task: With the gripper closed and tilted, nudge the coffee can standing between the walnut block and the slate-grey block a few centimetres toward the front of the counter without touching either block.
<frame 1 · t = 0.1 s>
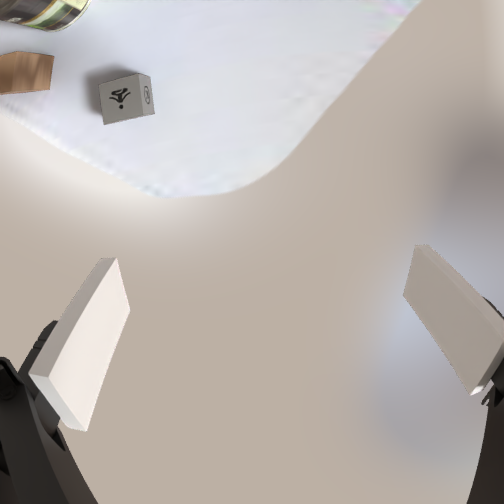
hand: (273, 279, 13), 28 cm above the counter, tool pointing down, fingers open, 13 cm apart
walnut block: (38, 74, 29), on the counter
coffee can: (64, 1, 24), on the counter
dice cube: (134, 99, 33), on the counter
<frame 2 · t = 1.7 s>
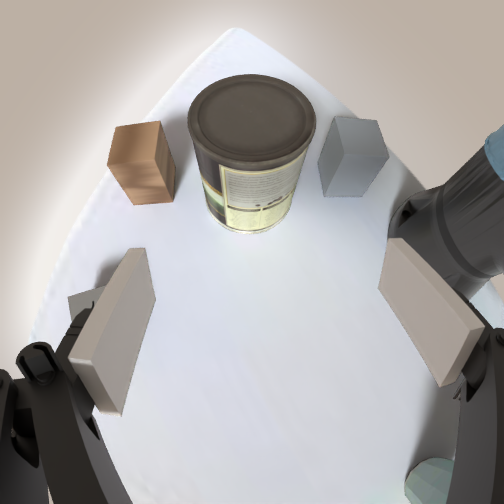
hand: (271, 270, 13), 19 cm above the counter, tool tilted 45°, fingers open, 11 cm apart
walnut block: (154, 185, 36), on the counter
disposable coffee cup: (423, 480, 25), on the counter
slate-grey block: (339, 179, 37), on the counter
coffee can: (248, 195, 36), on the counter
dice cube: (112, 321, 31), on the counter
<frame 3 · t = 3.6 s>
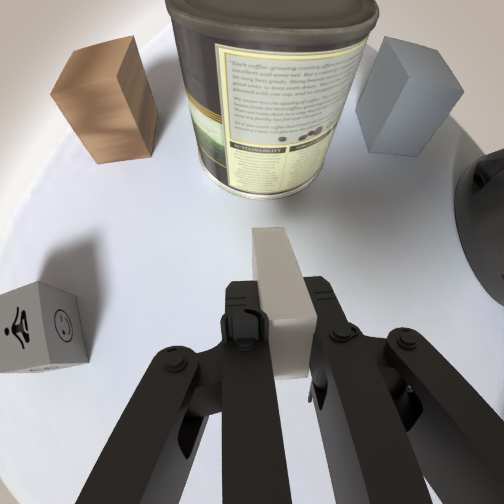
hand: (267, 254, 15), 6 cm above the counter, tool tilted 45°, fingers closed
walnut block: (127, 137, 24), on the counter
slate-grey block: (386, 132, 24), on the counter
coffee can: (262, 147, 24), on the counter
dice cube: (58, 335, 19), on the counter
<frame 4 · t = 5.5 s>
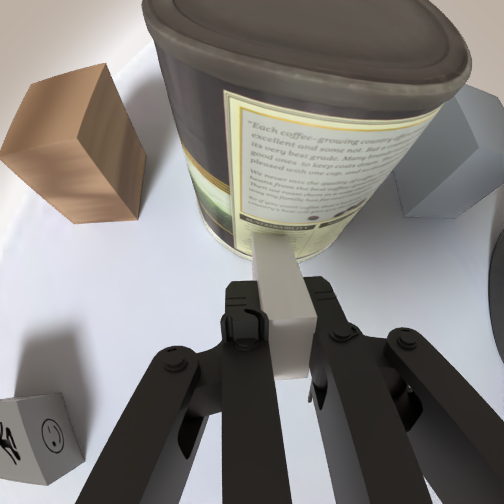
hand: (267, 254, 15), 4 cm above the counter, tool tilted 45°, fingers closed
walnut block: (109, 189, 20), on the counter
slate-grey block: (423, 187, 20), on the counter
coffee can: (275, 191, 20), on the counter, touching gripper
dice cube: (48, 428, 15), on the counter
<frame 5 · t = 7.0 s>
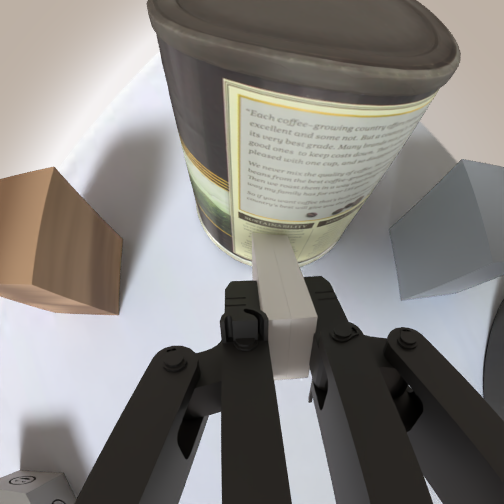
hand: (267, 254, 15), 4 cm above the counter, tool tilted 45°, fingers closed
walnut block: (87, 276, 18), on the counter
slate-grey block: (424, 262, 19), on the counter
coffee can: (274, 198, 20), on the counter, touching gripper
dice cube: (55, 498, 13), on the counter
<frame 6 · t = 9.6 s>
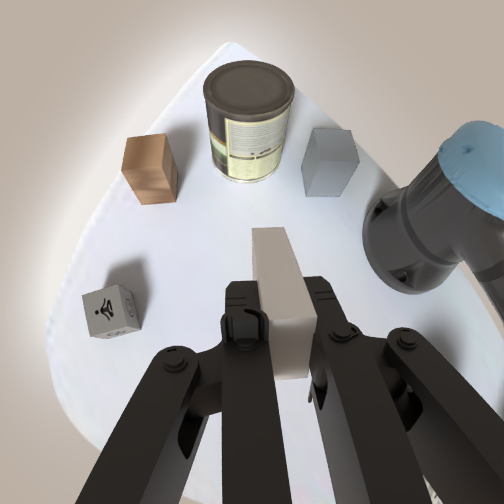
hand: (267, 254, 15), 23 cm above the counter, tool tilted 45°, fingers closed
walnut block: (159, 188, 42), on the counter
slate-grey block: (320, 181, 43), on the counter
coffee can: (246, 155, 44), on the counter
dice cube: (119, 316, 36), on the counter
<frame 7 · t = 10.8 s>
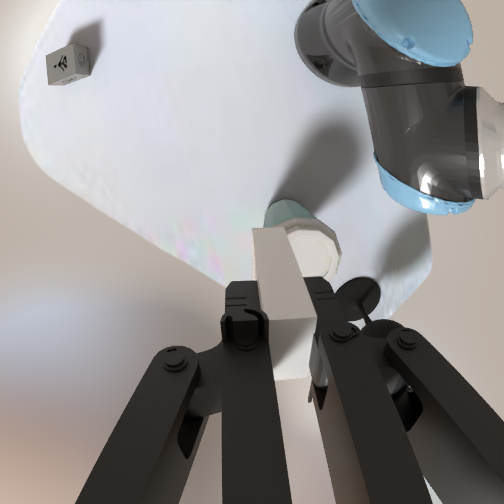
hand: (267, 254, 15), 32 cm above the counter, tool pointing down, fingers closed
disposable coffee cup: (283, 219, 49), on the counter
wine glass: (356, 299, 57), on the counter
dice cube: (76, 66, 35), on the counter
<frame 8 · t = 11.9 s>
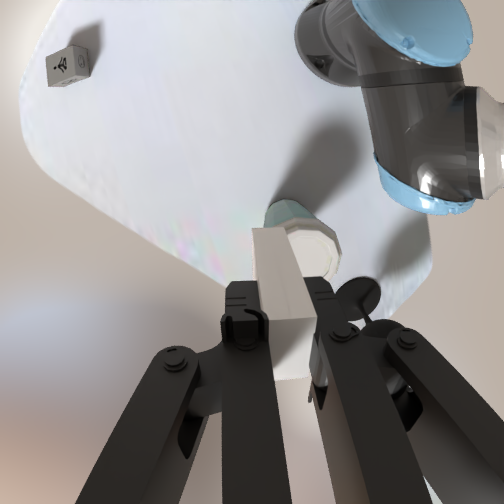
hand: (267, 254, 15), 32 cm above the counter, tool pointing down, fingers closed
disposable coffee cup: (284, 219, 49), on the counter
wine glass: (356, 299, 57), on the counter
dice cube: (75, 67, 35), on the counter
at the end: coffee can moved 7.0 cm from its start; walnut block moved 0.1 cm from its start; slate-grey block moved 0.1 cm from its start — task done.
